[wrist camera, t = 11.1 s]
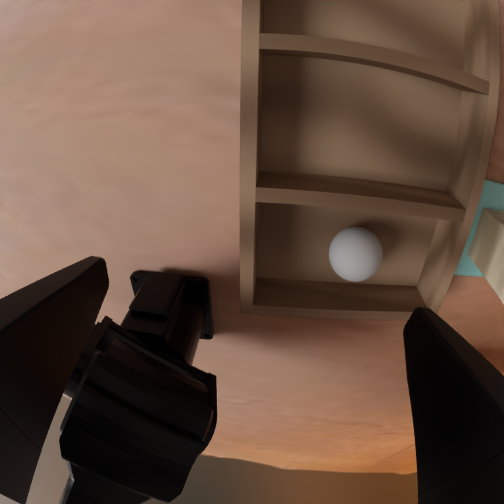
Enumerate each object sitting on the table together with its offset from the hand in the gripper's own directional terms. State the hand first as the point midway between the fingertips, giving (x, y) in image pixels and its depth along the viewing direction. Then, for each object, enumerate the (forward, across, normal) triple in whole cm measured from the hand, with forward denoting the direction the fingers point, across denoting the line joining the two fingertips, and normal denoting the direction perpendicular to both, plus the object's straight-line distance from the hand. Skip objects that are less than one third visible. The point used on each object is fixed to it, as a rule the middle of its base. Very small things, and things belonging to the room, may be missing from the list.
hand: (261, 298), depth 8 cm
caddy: (+12, -5, -4) cm, 13 cm away
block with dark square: (+11, -18, +1) cm, 21 cm away
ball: (+11, -6, +4) cm, 13 cm away
